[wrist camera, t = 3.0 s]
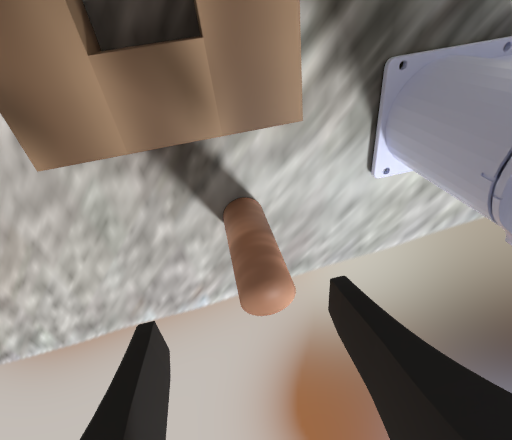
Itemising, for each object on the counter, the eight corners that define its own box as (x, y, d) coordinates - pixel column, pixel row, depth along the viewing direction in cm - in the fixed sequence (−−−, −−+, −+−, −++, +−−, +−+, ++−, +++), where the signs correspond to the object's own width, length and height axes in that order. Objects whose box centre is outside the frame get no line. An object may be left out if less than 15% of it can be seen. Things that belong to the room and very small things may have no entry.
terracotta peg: (260, 193, 21) (294, 270, 14) (264, 226, 23) (296, 307, 16) (219, 202, 21) (235, 284, 14) (227, 234, 22) (244, 321, 16)
